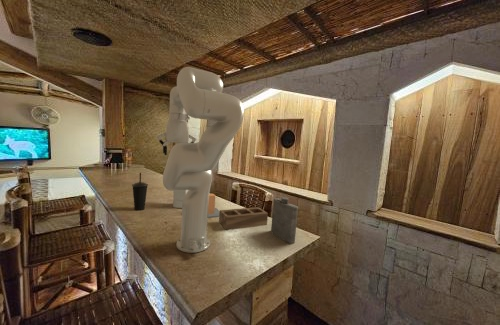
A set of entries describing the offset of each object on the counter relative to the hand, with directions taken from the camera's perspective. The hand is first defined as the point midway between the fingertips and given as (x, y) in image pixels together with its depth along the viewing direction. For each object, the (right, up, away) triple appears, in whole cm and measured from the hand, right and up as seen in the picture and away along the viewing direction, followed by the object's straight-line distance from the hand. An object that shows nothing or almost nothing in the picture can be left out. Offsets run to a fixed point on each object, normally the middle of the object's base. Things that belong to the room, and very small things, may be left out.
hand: (176, 155), depth 103 cm
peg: (+12, -31, +18) cm, 37 cm away
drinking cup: (-25, -29, +16) cm, 42 cm away
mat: (+12, -31, +18) cm, 38 cm away
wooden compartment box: (+31, -34, +7) cm, 47 cm away
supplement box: (-6, -29, +26) cm, 40 cm away
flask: (+49, -37, -5) cm, 61 cm away
